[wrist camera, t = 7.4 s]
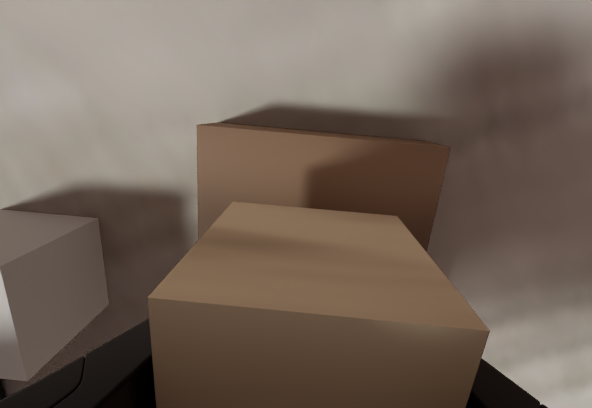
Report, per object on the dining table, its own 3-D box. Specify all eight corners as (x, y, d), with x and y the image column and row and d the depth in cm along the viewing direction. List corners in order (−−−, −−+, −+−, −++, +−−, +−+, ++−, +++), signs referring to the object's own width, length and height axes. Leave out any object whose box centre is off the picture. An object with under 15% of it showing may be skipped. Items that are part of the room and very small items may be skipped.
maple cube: (372, 350, 11) (421, 546, 6) (231, 336, 11) (165, 516, 6) (396, 215, 9) (489, 330, 4) (232, 201, 9) (147, 297, 4)
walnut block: (386, 311, 16) (402, 355, 13) (219, 293, 16) (199, 332, 14) (421, 140, 13) (450, 147, 11) (221, 122, 14) (196, 124, 11)
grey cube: (110, 303, 17) (27, 381, 12) (21, 294, 17) (-96, 368, 12) (99, 217, 15) (-1, 267, 10) (2, 208, 15) (-141, 253, 10)
